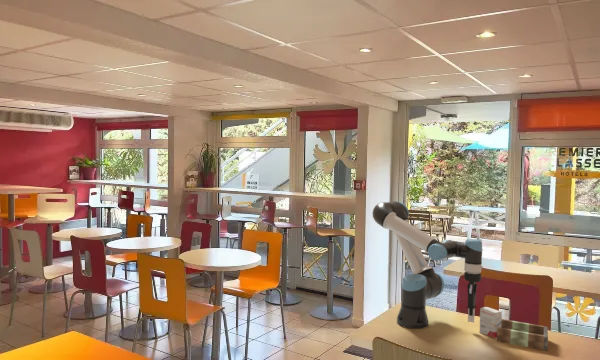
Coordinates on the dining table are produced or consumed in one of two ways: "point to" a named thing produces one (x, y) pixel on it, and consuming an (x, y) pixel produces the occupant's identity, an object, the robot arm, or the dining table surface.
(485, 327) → the ink box
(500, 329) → the open-top container
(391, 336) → the dining table surface
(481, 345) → the dining table surface
